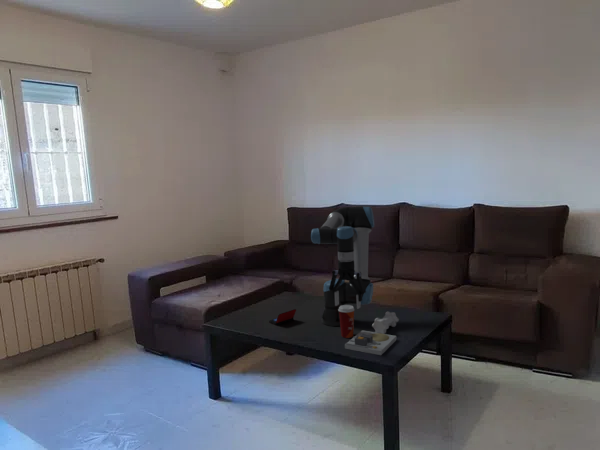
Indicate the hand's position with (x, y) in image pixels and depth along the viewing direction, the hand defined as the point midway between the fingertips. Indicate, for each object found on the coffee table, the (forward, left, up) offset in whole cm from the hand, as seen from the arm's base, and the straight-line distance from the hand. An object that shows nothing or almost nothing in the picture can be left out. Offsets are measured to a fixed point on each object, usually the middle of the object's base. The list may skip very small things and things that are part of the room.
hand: (347, 306), depth 213 cm
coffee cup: (-7, +12, -20) cm, 25 cm away
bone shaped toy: (+7, +28, -20) cm, 36 cm away
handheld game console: (-49, +16, -20) cm, 55 cm away
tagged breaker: (+6, 0, -18) cm, 19 cm away
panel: (+8, +7, -20) cm, 23 cm away
